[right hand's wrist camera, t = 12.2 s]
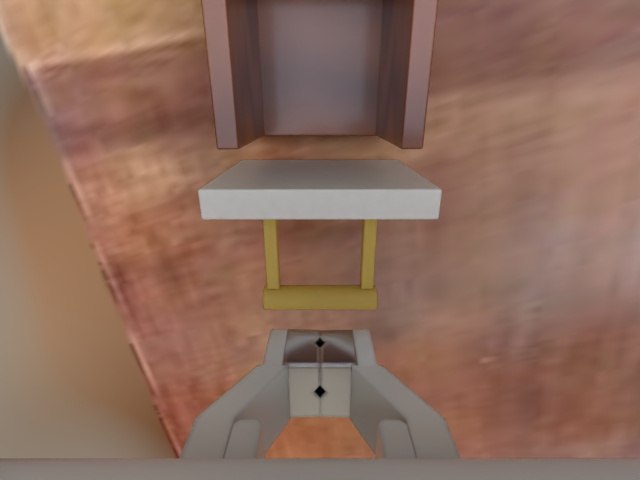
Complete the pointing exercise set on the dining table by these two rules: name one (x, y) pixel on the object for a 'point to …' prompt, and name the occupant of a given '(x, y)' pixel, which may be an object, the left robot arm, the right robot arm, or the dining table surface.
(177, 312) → the dining table surface
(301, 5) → the drawer
